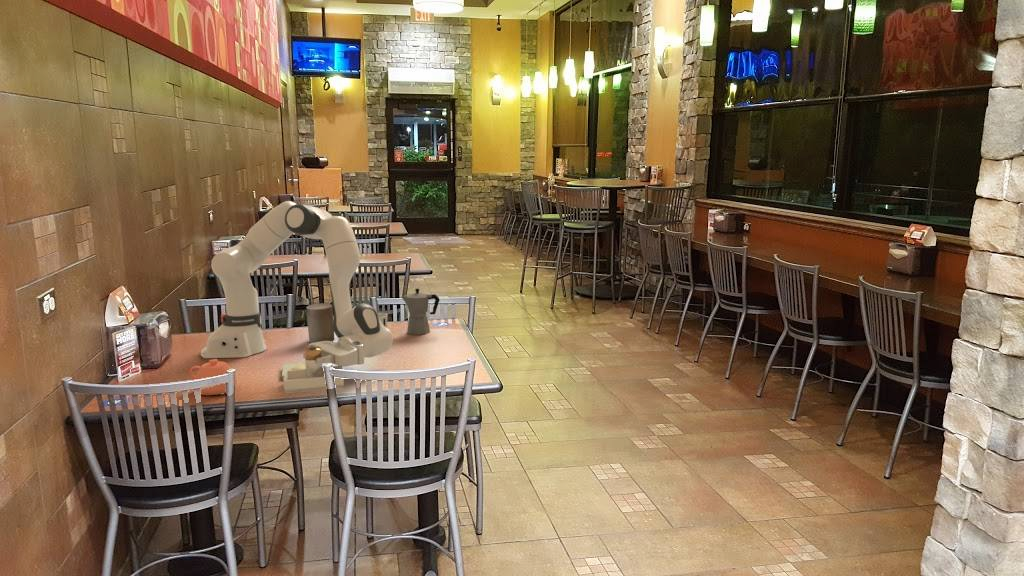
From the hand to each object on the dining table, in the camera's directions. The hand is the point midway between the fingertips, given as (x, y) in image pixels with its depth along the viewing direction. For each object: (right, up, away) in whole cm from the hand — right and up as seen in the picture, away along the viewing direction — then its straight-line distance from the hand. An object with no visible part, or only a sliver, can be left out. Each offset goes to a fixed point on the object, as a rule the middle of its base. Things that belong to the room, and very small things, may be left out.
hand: (310, 358), depth 217 cm
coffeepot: (+26, +4, +65) cm, 70 cm away
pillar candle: (-11, +1, +53) cm, 54 cm away
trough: (+1, -9, +2) cm, 9 cm away
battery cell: (+1, -8, +2) cm, 8 cm away
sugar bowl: (-29, -10, -3) cm, 31 cm away
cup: (+11, +2, +53) cm, 54 cm away
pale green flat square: (-7, -6, +15) cm, 17 cm away
